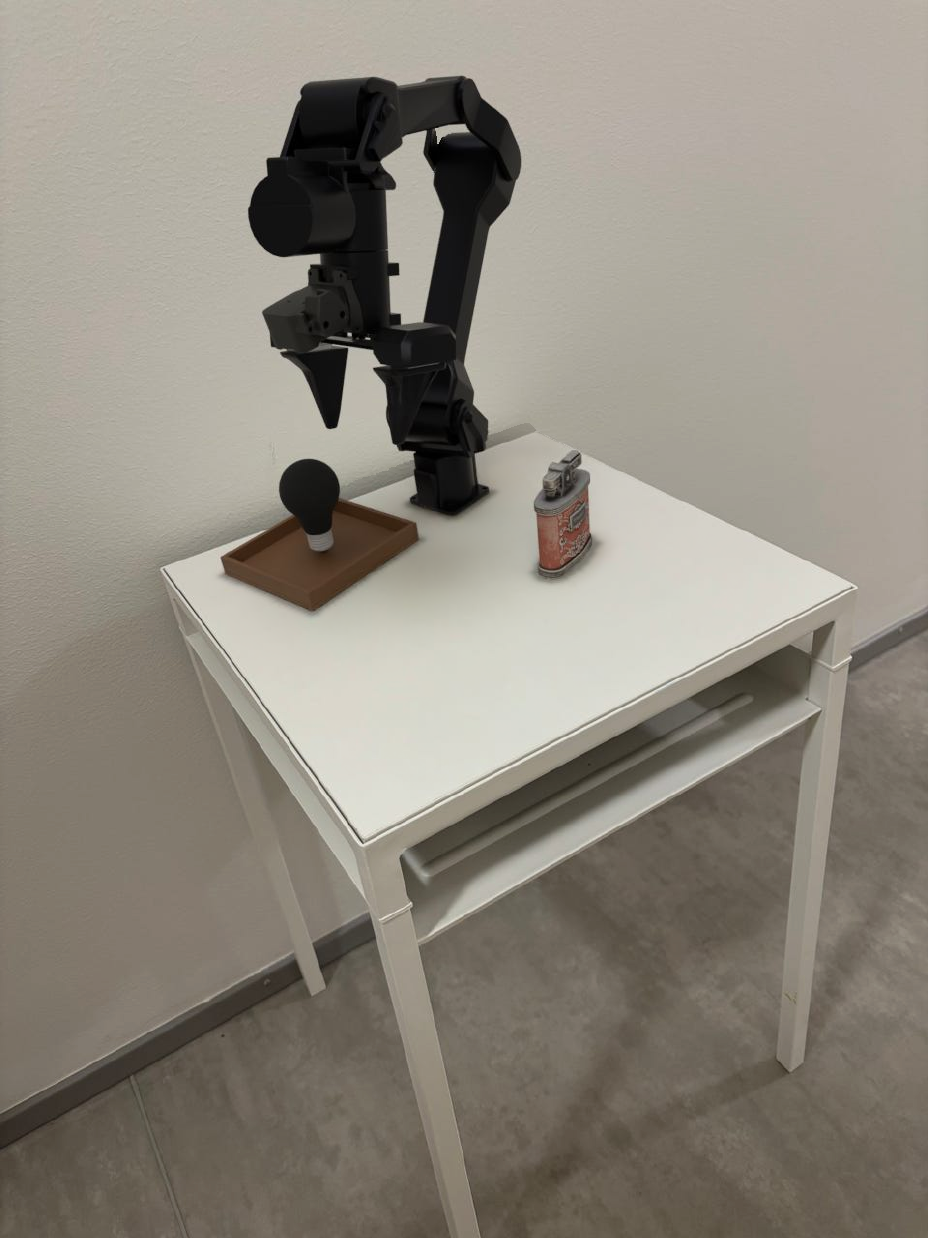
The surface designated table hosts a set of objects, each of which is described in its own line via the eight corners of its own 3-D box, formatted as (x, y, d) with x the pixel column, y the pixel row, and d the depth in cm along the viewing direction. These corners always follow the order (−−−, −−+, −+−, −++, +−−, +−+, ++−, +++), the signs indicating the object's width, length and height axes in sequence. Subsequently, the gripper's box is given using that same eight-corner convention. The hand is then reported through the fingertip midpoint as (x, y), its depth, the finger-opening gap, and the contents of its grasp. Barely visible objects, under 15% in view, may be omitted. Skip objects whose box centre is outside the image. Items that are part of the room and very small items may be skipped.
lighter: (562, 582, 88) (557, 485, 82) (530, 574, 89) (523, 479, 84) (599, 540, 93) (597, 447, 87) (568, 534, 95) (564, 441, 89)
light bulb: (292, 544, 98) (270, 455, 92) (347, 532, 99) (330, 443, 93) (297, 572, 93) (275, 480, 87) (355, 559, 94) (337, 468, 88)
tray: (331, 510, 104) (328, 494, 103) (419, 539, 97) (416, 522, 96) (225, 573, 95) (220, 557, 94) (312, 611, 88) (308, 593, 87)
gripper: (208, 251, 80) (229, 435, 86) (351, 259, 68) (362, 472, 74) (314, 246, 87) (326, 416, 93) (459, 252, 75) (461, 446, 82)
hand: (363, 435), depth 86 cm, fingers open, 9 cm apart
